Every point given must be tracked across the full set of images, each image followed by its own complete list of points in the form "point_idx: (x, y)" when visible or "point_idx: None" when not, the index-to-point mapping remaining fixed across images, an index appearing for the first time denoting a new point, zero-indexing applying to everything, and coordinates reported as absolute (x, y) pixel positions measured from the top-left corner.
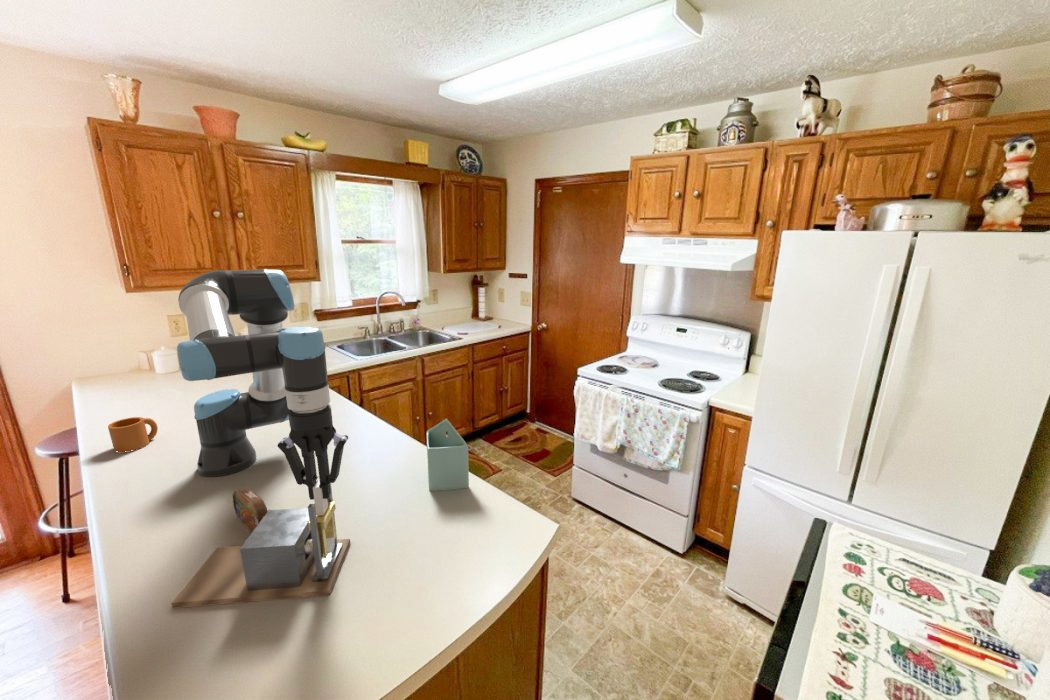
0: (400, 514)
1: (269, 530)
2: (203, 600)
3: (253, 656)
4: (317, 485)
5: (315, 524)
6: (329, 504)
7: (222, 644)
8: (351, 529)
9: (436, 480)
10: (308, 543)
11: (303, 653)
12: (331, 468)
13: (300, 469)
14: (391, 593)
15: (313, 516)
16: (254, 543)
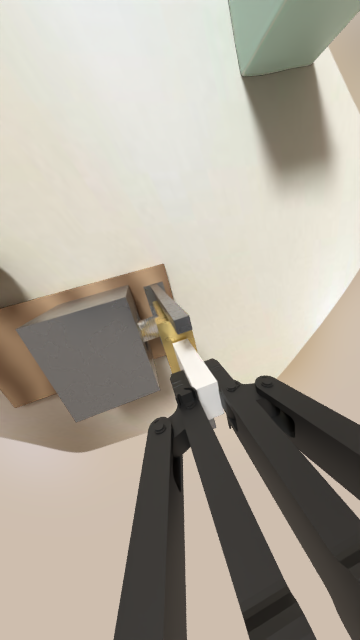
0: (209, 178)
1: (85, 378)
2: (53, 394)
3: (158, 407)
4: (210, 409)
5: None
6: None
7: (121, 409)
8: (146, 231)
9: (273, 48)
10: (146, 338)
11: None
12: (313, 460)
13: (179, 502)
14: (243, 328)
15: None
16: (89, 407)
